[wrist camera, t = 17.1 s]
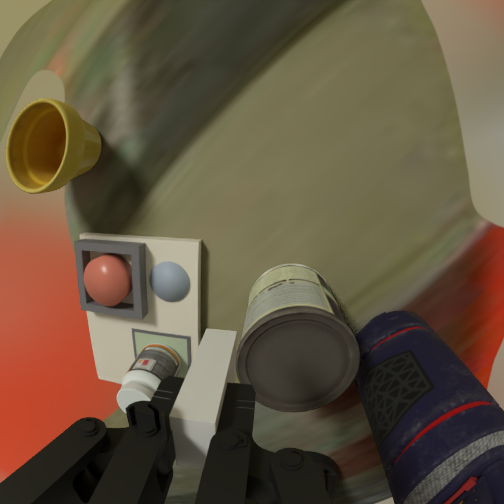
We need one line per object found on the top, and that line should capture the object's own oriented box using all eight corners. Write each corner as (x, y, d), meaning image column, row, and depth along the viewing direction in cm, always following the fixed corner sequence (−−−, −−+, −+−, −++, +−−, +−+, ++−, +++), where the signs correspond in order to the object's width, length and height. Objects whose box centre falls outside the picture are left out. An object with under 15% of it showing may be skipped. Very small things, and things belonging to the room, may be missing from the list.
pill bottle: (137, 341, 39) (104, 382, 30) (177, 340, 39) (151, 385, 29) (148, 376, 40) (121, 421, 31) (186, 377, 40) (165, 425, 30)
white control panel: (201, 391, 42) (196, 406, 39) (102, 373, 43) (92, 385, 40) (201, 239, 37) (194, 246, 34) (85, 232, 38) (71, 237, 35)
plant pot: (42, 167, 36) (-6, 169, 27) (73, 99, 34) (27, 86, 25) (92, 202, 37) (46, 211, 28) (127, 129, 35) (85, 117, 25)
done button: (135, 301, 38) (127, 309, 35) (95, 295, 38) (86, 302, 36) (133, 254, 36) (124, 260, 34) (91, 251, 37) (81, 256, 34)
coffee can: (349, 291, 38) (384, 348, 24) (300, 353, 40) (309, 427, 26) (279, 245, 37) (282, 285, 23) (232, 313, 39) (212, 379, 25)
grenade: (331, 371, 40) (378, 578, 11) (371, 295, 38) (502, 489, 8) (410, 390, 41) (488, 549, 11) (449, 322, 38) (579, 464, 9)
